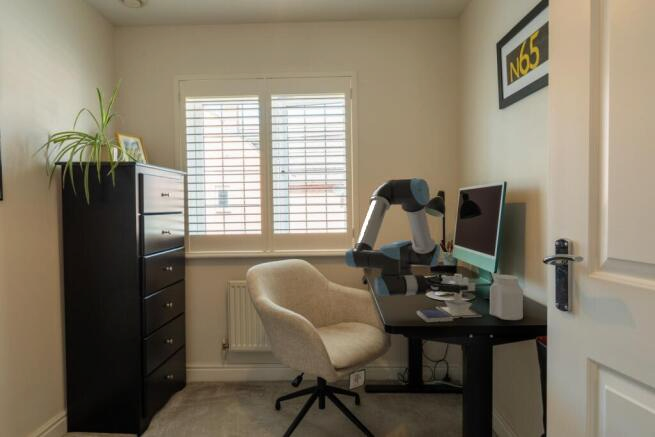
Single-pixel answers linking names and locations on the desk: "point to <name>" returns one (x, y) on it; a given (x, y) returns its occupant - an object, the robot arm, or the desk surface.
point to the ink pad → (434, 315)
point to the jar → (506, 298)
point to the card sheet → (456, 315)
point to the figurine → (458, 297)
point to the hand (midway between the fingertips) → (465, 282)
